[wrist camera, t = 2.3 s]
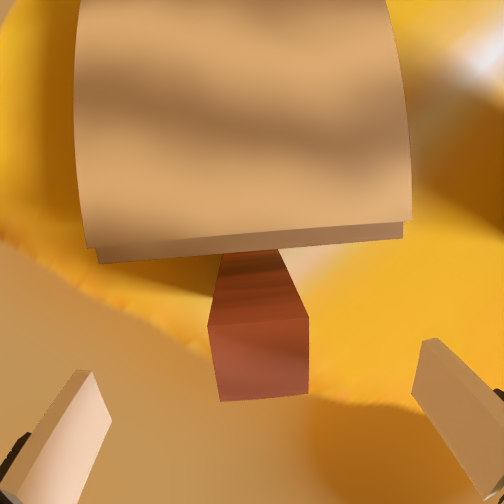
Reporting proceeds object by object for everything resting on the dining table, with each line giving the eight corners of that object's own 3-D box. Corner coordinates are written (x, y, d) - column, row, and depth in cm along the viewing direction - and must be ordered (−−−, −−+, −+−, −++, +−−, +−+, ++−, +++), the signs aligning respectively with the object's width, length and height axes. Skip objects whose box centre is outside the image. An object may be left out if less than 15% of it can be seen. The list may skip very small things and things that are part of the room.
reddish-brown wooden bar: (223, 251, 24) (207, 326, 12) (276, 246, 24) (308, 317, 12) (228, 300, 25) (220, 401, 13) (279, 296, 25) (308, 393, 13)
